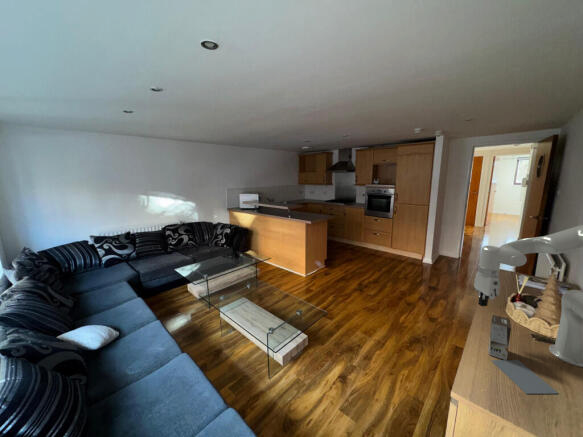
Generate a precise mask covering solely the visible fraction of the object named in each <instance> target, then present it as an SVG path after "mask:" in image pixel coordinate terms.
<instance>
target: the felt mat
mask: <svg viewBox="0 0 583 437" xmlns="http://www.w3.org/2000/svg"><path fill="white" fill-rule="evenodd" d="M490 361H491V362H492V363H493V364H494V365H495V366H496V367H497V368H498V369H499V370H500V371H501V372H503V374H504V375H505V376H507V377H508V378H509V380H511V381H512V382H513V383H514V384H515V385H516V386H518V388H519V389H521V390H522V391H523V392H524V393H525V394H526V395H558V394H559V392H558V391H557V390H556V389H554V388H553V387H552V386H550V385H549V384H548V383H547V382H546V381H544V379H542V378H541V377H539V376H538V375H537V374H536V373H535V372H533V371H532V370H531V369H530V368H528V366H527V365H525V364H524V363H522V362H521V361H520V359H507V360H503V359H497V360H496V359H495V360H493V359H491V360H490Z"/></svg>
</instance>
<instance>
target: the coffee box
mask: <svg viewBox="0 0 583 437" xmlns="http://www.w3.org/2000/svg"><path fill="white" fill-rule="evenodd" d="M511 332H512V326H511V319H509V318H507V317H505V316H500V315H495V314H491V321H490V330H489V340H488V355H490V356H492V357H495V358H498V359H500V360H508V356H509V355H508V354H509V347H510V339H511Z"/></svg>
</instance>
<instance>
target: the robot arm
mask: <svg viewBox="0 0 583 437" xmlns="http://www.w3.org/2000/svg"><path fill="white" fill-rule="evenodd" d="M582 248H583V224H581V225H576V226H574V227H570V228H567V229H564V230H561V231H557V232H554V233H551V234H550V233H549V234H546V235H543V236H536V237H529V238H522V239H518V240H513V241H510V242H507V243H504V244H502V245H500V246H495V245H484V246H482V247H481V251H480V257H479V264H478V270H477V272H476V275H475V278H474V282H473V287H474V290H475V291H477V293H478V295H477V296H478V303H477V304H478V305H479V306H480V307H488V302H489V300H496V297H498V296H499V294H500V289H501V288H500V287H501V286H500V285H501V284H500V282H501V280H500V274H499V272H500V268H501V264H502V265H506V266H511V267H521V266H525V264H526V263H527V262H528V260H527V254H536V253H537V254H539V253H540V254H549V255H560V254H563V253H568V252H570V251H574V250H577V249H582ZM560 302H561V315H560V319H559V325H558V328H557V332H556V338H555V344H550V345H549V347H548V349H549V352H550V353H551V354H552V355H553V357H555V358H557V359H560V360H561V361H563V362H565V363H567V364H570V365H573V366H576V367H579V368H583V290H580V289H571V290H567V291H565V292H564V293H563V294H562V296H561V300H560Z"/></svg>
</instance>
